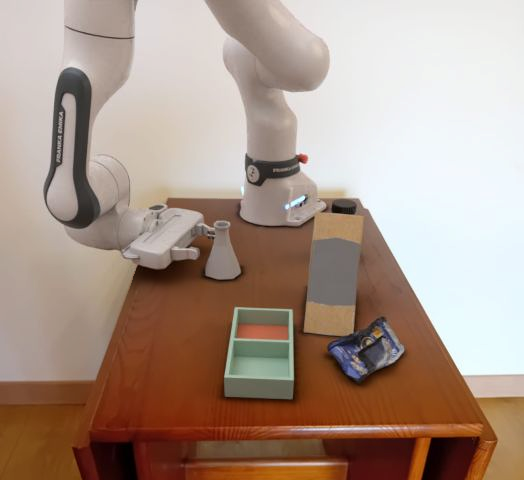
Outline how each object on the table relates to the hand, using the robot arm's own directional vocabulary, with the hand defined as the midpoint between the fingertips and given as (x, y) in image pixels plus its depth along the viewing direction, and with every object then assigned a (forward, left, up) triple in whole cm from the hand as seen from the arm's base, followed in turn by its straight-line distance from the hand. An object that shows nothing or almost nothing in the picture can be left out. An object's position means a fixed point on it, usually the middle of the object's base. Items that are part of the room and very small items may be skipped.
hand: (208, 243), depth 103 cm
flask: (-1, +3, -6) cm, 6 cm away
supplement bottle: (-22, +15, -6) cm, 27 cm away
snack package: (+3, +40, -6) cm, 40 cm away
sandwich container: (-5, +26, -6) cm, 27 cm away
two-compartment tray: (+14, +28, -6) cm, 31 cm away
